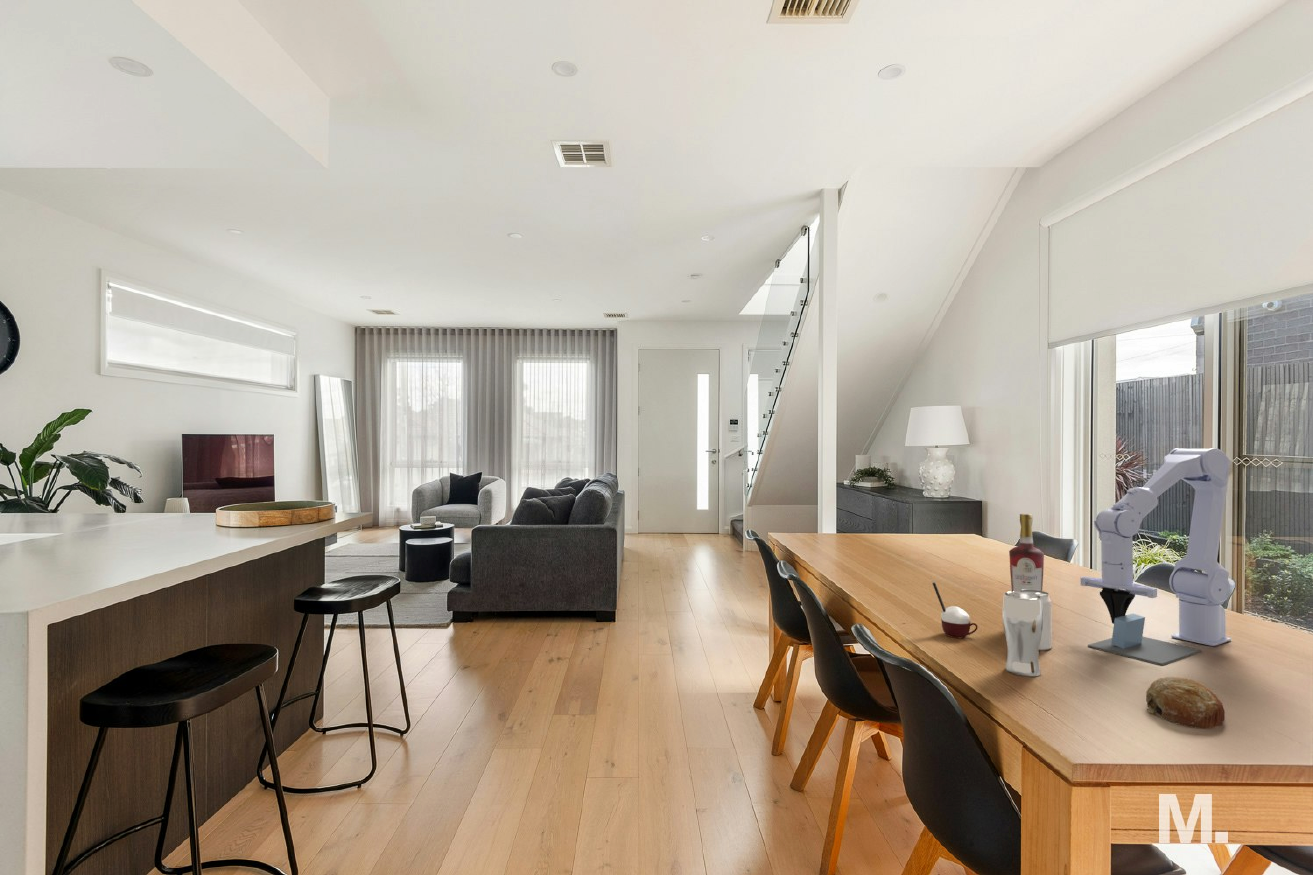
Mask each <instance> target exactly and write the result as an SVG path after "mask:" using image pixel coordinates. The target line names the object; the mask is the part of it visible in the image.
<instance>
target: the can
mask: <svg viewBox="0 0 1313 875" xmlns="http://www.w3.org/2000/svg"><path fill="white" fill-rule="evenodd" d="M1020 592H1026V593H1032V594H1036V595H1039V596H1041V597H1042V607H1043V630H1042V636H1041V641H1040V646H1039V651H1048V650H1050V649H1051V648H1052V600H1051V599H1050V596H1049V592H1046V591H1043V590H1042V591H1039V590H1020Z"/></svg>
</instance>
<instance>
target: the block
mask: <svg viewBox="0 0 1313 875" xmlns="http://www.w3.org/2000/svg"><path fill="white" fill-rule="evenodd" d="M1145 621H1146V616H1143V615H1139V614H1136V613H1130V614H1129V613H1128V614H1125V616H1121V617H1117V618H1115V620H1114V624H1113V627H1112V628H1113V629H1112V637H1111V638H1112V643H1111V644H1112V645H1115V646H1117V647H1120V648H1123V649H1124V648H1127V647H1131V646H1134V645H1137V644H1140V643H1142V636H1143V634H1144V628H1145ZM1143 637H1144V636H1143Z"/></svg>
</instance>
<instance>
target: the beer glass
mask: <svg viewBox="0 0 1313 875" xmlns="http://www.w3.org/2000/svg"><path fill="white" fill-rule="evenodd" d="M1002 600H1003V601H1002V625H1003V629H1004V635H1005V640H1006V646H1007V647H1006V649H1007V656H1006V657H1007V658H1006V663H1005V670H1006V671H1007V672H1008V673H1010V674H1014V675H1017V676H1021V677H1027V678H1028V677H1032V678H1033V677H1034V678H1035V677H1039V676H1041V674H1042V671H1041V666H1040V661H1039V651H1040V650H1039V646H1040V641H1041V636H1042V630H1043V607H1042V597H1041V596H1039V595H1036V594H1032V593H1026V592H1012V591H1007V592H1003V599H1002Z"/></svg>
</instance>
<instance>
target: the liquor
mask: <svg viewBox="0 0 1313 875" xmlns="http://www.w3.org/2000/svg"><path fill="white" fill-rule="evenodd" d="M1033 518H1034V517H1033V514H1030V513H1020V514H1019V523H1020V534H1019V543H1018V544H1019V545H1018V546H1015V547H1013V548H1011V549H1009V550H1008V552H1009V554H1008V555H1009V573H1010V585H1011V592H1020V590H1039V591H1043V584H1044V583H1043V582H1044V567H1045V566H1044V565H1045V562H1044V560H1045V553H1044V552H1043V551H1041V549H1040V548H1037V547H1034V538H1033V528H1032V527H1033Z"/></svg>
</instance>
